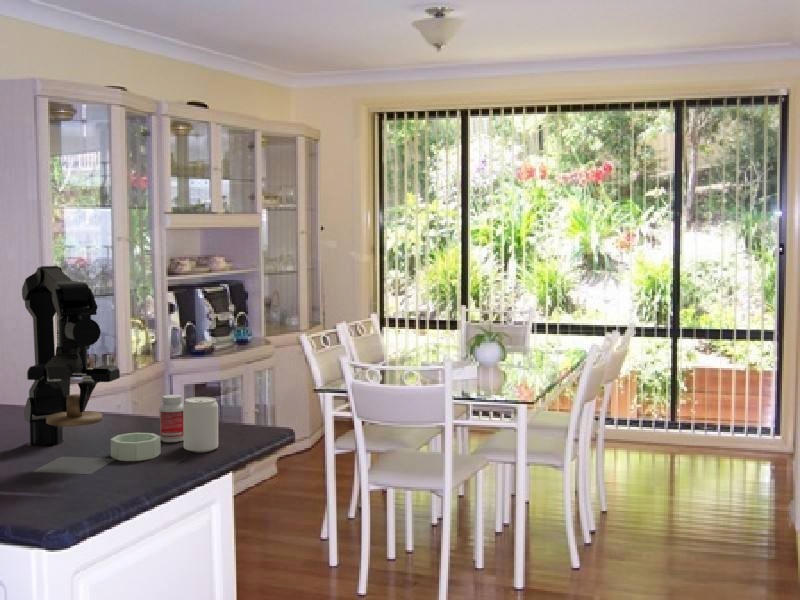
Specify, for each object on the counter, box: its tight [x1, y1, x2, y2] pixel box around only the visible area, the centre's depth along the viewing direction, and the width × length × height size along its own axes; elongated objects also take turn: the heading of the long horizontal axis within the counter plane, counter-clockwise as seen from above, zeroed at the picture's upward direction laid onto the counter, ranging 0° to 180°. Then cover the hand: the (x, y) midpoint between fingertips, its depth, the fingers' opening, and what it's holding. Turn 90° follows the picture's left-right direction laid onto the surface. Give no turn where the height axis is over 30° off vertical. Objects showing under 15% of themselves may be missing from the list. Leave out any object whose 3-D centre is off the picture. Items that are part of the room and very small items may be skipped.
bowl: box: [110, 432, 161, 462], centre depth 214 cm, size 10×10×5 cm
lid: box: [46, 393, 103, 427], centre depth 204 cm, size 12×12×6 cm
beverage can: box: [183, 396, 219, 453], centre depth 222 cm, size 8×8×12 cm
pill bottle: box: [159, 394, 184, 443], centre depth 232 cm, size 6×6×11 cm
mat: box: [31, 456, 116, 475], centre depth 205 cm, size 13×13×1 cm
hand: (74, 411), depth 204 cm, fingers closed on lid, 3 cm apart
